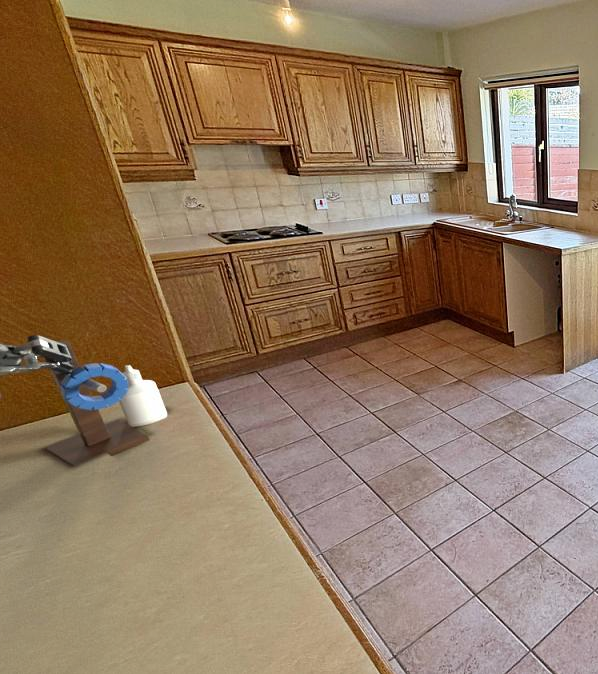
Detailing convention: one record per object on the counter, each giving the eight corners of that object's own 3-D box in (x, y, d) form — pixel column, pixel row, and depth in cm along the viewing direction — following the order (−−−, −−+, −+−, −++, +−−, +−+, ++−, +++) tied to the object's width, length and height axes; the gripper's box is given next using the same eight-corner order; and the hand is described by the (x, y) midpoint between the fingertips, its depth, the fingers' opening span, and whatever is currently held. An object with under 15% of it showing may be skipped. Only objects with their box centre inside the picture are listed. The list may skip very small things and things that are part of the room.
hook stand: (47, 453, 82) (-6, 348, 74) (120, 424, 91) (79, 327, 82) (95, 483, 76) (43, 372, 68) (169, 449, 85) (130, 347, 77)
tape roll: (108, 409, 80) (50, 399, 74) (133, 370, 82) (77, 357, 75) (113, 414, 79) (53, 404, 73) (137, 374, 80) (81, 361, 74)
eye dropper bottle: (161, 424, 91) (140, 369, 86) (124, 428, 89) (101, 373, 85) (171, 412, 95) (152, 359, 90) (136, 416, 93) (114, 362, 88)
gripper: (-3, 302, 62) (82, 340, 77) (-163, 349, 56) (-38, 380, 71) (17, 351, 61) (99, 380, 76) (-144, 403, 55) (-21, 424, 70)
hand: (33, 380), depth 73 cm, fingers open, 8 cm apart
